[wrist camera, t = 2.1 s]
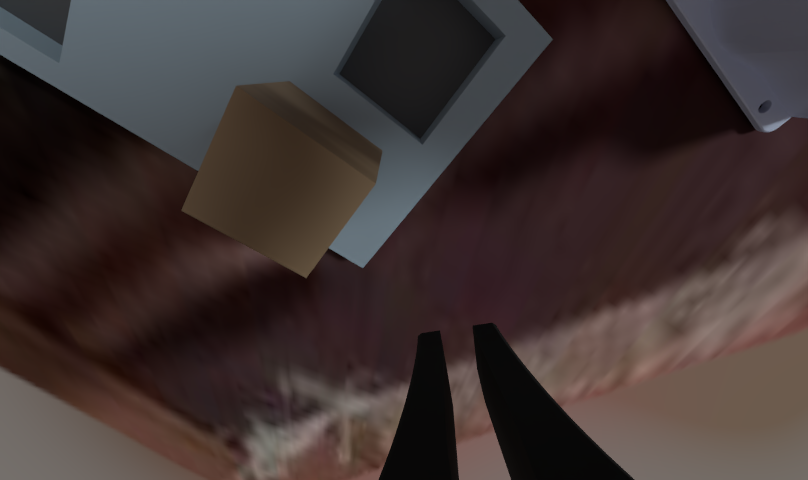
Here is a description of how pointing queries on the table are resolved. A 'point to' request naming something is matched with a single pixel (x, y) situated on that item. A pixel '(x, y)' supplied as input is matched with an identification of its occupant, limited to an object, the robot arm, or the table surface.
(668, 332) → the table surface
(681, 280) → the table surface
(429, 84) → the board
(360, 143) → the walnut block
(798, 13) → the robot arm
